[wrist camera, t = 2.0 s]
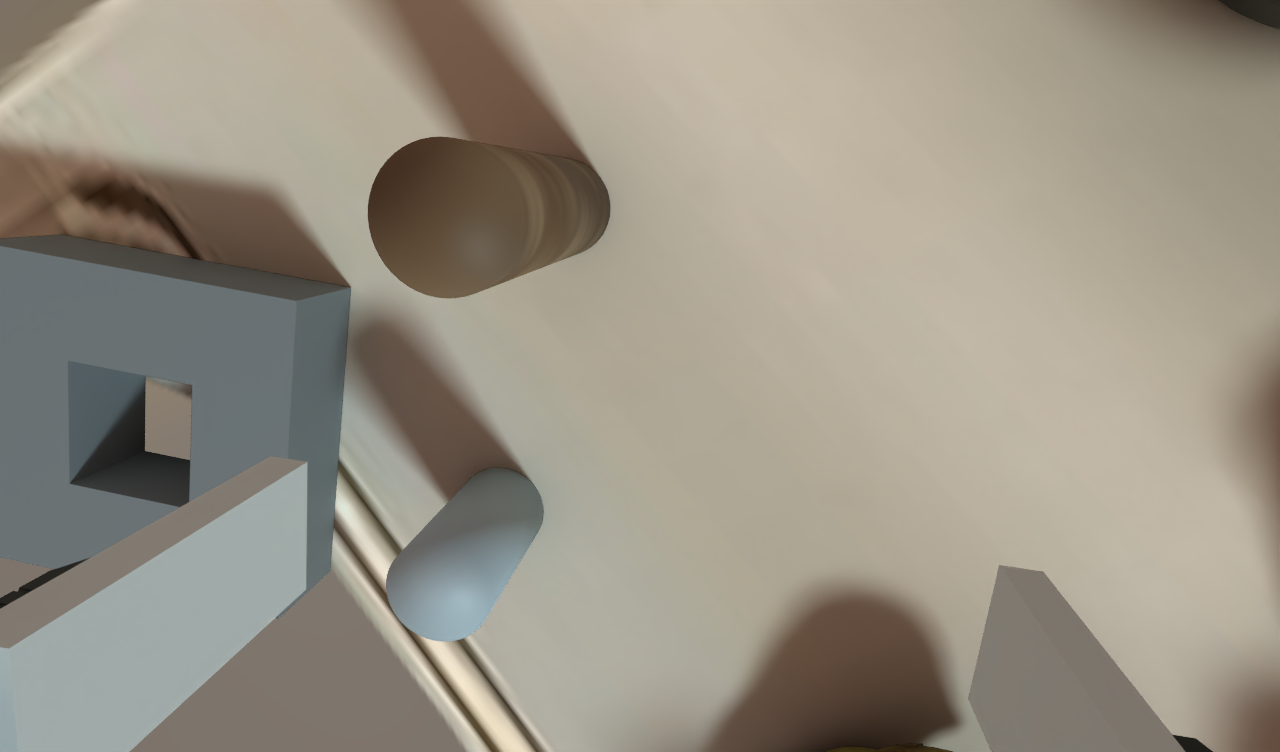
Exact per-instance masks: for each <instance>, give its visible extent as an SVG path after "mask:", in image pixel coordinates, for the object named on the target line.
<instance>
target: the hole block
mask: <svg viewBox="0 0 1280 752" xmlns="http://www.w3.org/2000/svg"><path fill="white" fill-rule="evenodd" d="M350 293H351V287H345V286H340V285H334V284H329V283H323V282H318V281H313V280H307V279H302V278H296V277H291V276H285V275H280V274H274V273H269V272H263V271H258V270H252V269H247V268H241V267H236V266H231V265H225V264H220V263H214V262H209V261H203V260H198V259H192V258H187V257H181V256H176V255H170V254H165V253H159V252H154V251H149V250H143V249H138V248H132V247H127V246H121V245H116V244H110V243H105V242H99V241H94V240H88V239H83V238H77V237H72V236H67V235H61V234H60V235H45V236H30V237H14V238H0V557H1V558H6V559H10V560H15V561H19V562H24V563H28V564H33V565H37V566H42V567H46V568H51V569H57V568H60V567H63V566H66V565H69V564H72V563H75V562H78V561H81V560H84V559H87V558H91V557H93V556H95V555H96V554H98V553H100V552H102V551H104V550H105V549H107V548H109V547H111V546H112V545H114V544H116V543H118V542H119V541H121V540H123V539H125V538H127V537H128V536H130V535H132V534H134V533H135V532H137V531H139V530H141V529H142V528H144V527H146V526H148V525H150V524H151V523H153V522H155V521H157V520H158V519H160V518H162V517H164V516H165V515H167V514H169V513H171V512H173V511H174V510H176V509H178V508H180V507H181V506H183V505H185V504H187V503H188V502H190V501H192V500H194V499H196V498H197V497H199V496H201V495H203V494H204V493H206V492H208V491H210V490H212V489H213V488H215V487H217V486H219V485H220V484H222V483H224V482H226V481H227V480H229V479H231V478H233V477H235V476H236V475H238V474H240V473H242V472H243V471H245V470H247V469H249V468H250V467H252V466H254V465H256V464H258V463H259V462H261V461H263V460H265V459H266V458H268V457H270V456H272V457H279V458H286V459H292V460H299V461H306V462H307V557H306V590H305V591H304V592H303V593H302V594H301V595H300V596H298V597H297V598H296V599H295V600H294V601H293V602H292V603H291V604H290V605H289V606H288V607H286V608H285V609H284V610H283V611H282V612H281V613H280V614H279V615H278V616H277V617H276V618H277V619H279V618H280V617H281V616H282V615H283V614H284V613H285V612H286V611H288V610H289V609H290V608H291V607H292V606H293V605H294V604H295V603H296V602H297V601H298V600H299V599H301V598H302V597H303V596H304V595H305V594H306V593H307V592H308V591H309V590H310V589H311V588H312V587H314V586H315V585H316V584H317V583H318V582H319V581H320V580H321V579H322V578H323V577H324V576H325V575H326V574H328V572H330V567H331V553H332V540H333V526H334V512H335V499H336V485H337V471H338V457H339V444H340V430H341V416H342V403H343V389H344V375H345V362H346V348H347V334H348V320H349V307H350ZM146 376H149V377H154V378H159V379H164V380H169V381H174V382H179V383H184V384H189V385H192V415H191V455H190V460H186V459H181V458H176V457H171V456H166V455H161V454H157V453H152V452H146V451H145V377H146Z"/></svg>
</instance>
